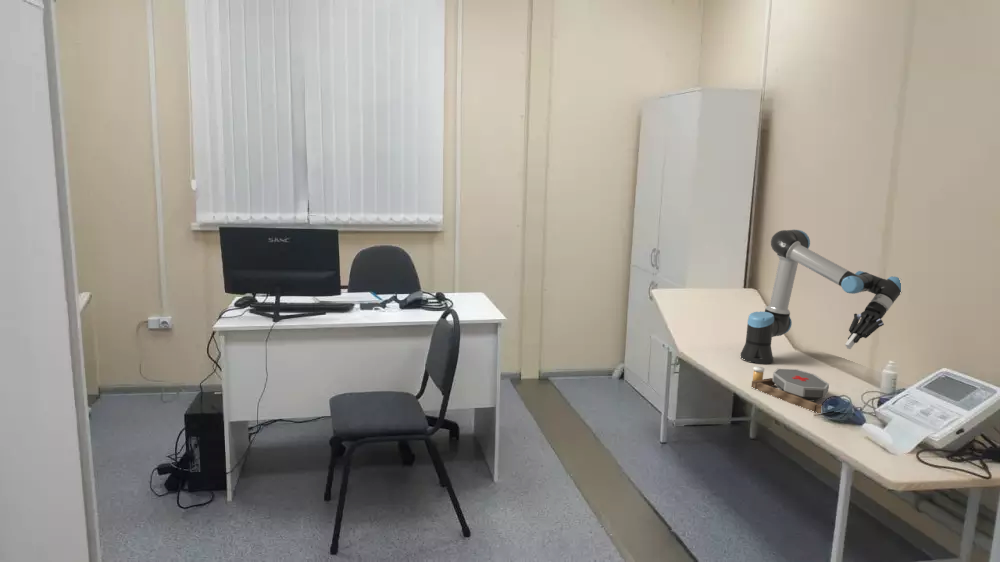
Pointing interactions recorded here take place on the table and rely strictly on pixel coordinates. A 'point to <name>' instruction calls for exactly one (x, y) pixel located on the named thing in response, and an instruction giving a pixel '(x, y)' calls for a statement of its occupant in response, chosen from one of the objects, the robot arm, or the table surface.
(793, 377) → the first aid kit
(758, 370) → the pill bottle
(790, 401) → the brown piece
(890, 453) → the table surface
